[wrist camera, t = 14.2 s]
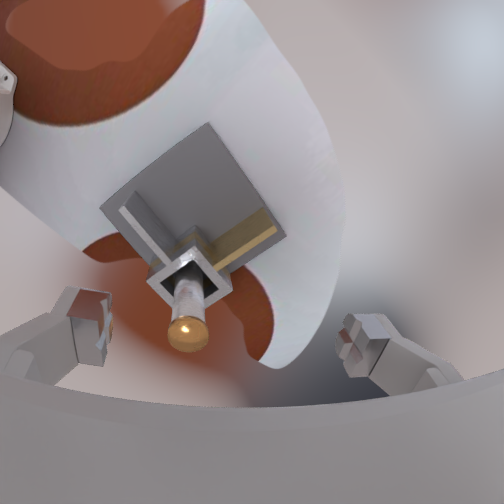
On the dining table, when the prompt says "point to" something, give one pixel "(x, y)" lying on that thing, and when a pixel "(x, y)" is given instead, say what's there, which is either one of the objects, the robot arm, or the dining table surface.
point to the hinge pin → (188, 310)
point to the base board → (193, 195)
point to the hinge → (193, 249)
